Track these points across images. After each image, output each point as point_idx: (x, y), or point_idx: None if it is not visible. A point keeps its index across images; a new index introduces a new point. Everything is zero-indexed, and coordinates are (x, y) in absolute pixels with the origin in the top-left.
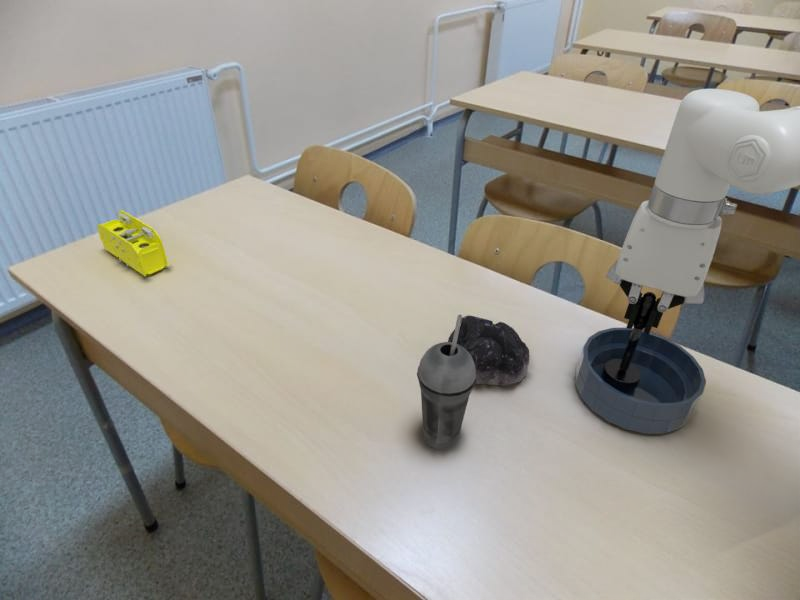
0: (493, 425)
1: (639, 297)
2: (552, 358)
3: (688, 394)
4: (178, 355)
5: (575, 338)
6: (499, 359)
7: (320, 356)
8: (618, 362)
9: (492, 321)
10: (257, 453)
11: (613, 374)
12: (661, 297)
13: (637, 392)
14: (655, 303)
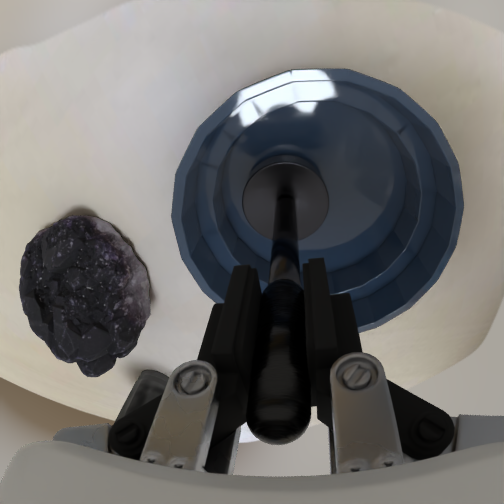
0: (181, 354)
1: (237, 423)
2: (147, 195)
3: (426, 200)
4: (10, 373)
5: (146, 101)
6: (115, 358)
7: (28, 345)
8: (266, 184)
9: (48, 330)
10: (101, 415)
11: (272, 231)
12: (330, 474)
13: (328, 193)
14: (315, 371)
